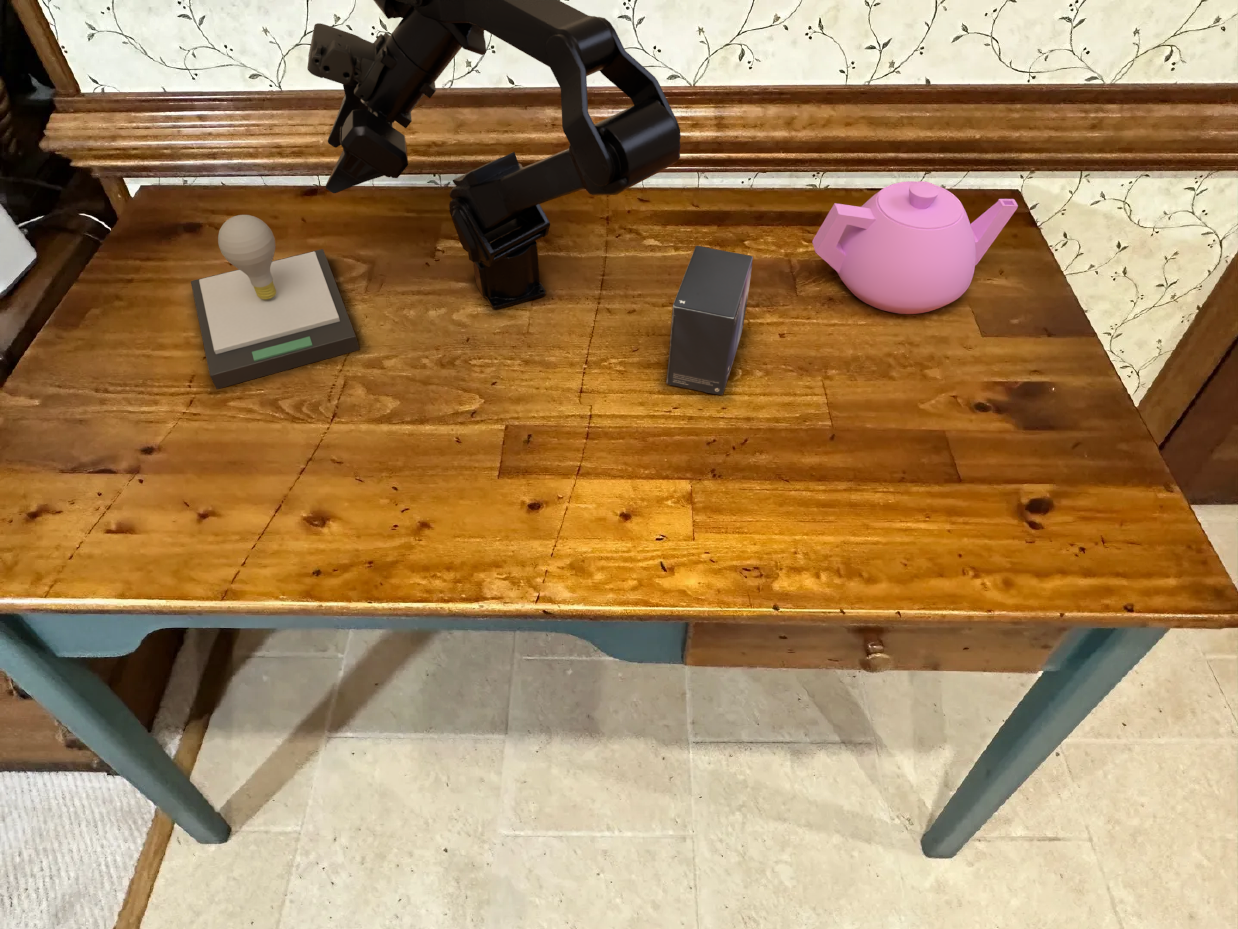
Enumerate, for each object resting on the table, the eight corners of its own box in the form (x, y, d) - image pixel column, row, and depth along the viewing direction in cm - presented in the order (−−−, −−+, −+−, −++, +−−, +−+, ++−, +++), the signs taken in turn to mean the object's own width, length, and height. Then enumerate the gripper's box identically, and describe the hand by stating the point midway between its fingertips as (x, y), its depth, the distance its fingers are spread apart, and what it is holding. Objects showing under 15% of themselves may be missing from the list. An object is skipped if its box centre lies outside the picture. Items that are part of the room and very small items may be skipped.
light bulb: (273, 318, 94) (242, 239, 87) (232, 306, 96) (198, 227, 88) (304, 289, 98) (276, 210, 90) (263, 277, 99) (233, 199, 91)
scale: (327, 262, 105) (321, 244, 103) (360, 349, 95) (354, 331, 93) (196, 294, 101) (188, 276, 99) (216, 389, 91) (207, 371, 89)
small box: (726, 398, 90) (736, 319, 82) (664, 386, 91) (668, 306, 83) (744, 332, 97) (756, 253, 89) (687, 322, 98) (693, 242, 90)
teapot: (823, 329, 97) (844, 236, 88) (790, 245, 107) (806, 154, 98) (1015, 315, 99) (1055, 223, 90) (965, 234, 109) (996, 143, 100)
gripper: (345, -41, 88) (265, 78, 95) (343, 41, 76) (251, 170, 83) (437, 33, 95) (356, 139, 102) (448, 119, 83) (355, 232, 90)
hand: (330, 166), depth 94 cm, fingers open, 9 cm apart
